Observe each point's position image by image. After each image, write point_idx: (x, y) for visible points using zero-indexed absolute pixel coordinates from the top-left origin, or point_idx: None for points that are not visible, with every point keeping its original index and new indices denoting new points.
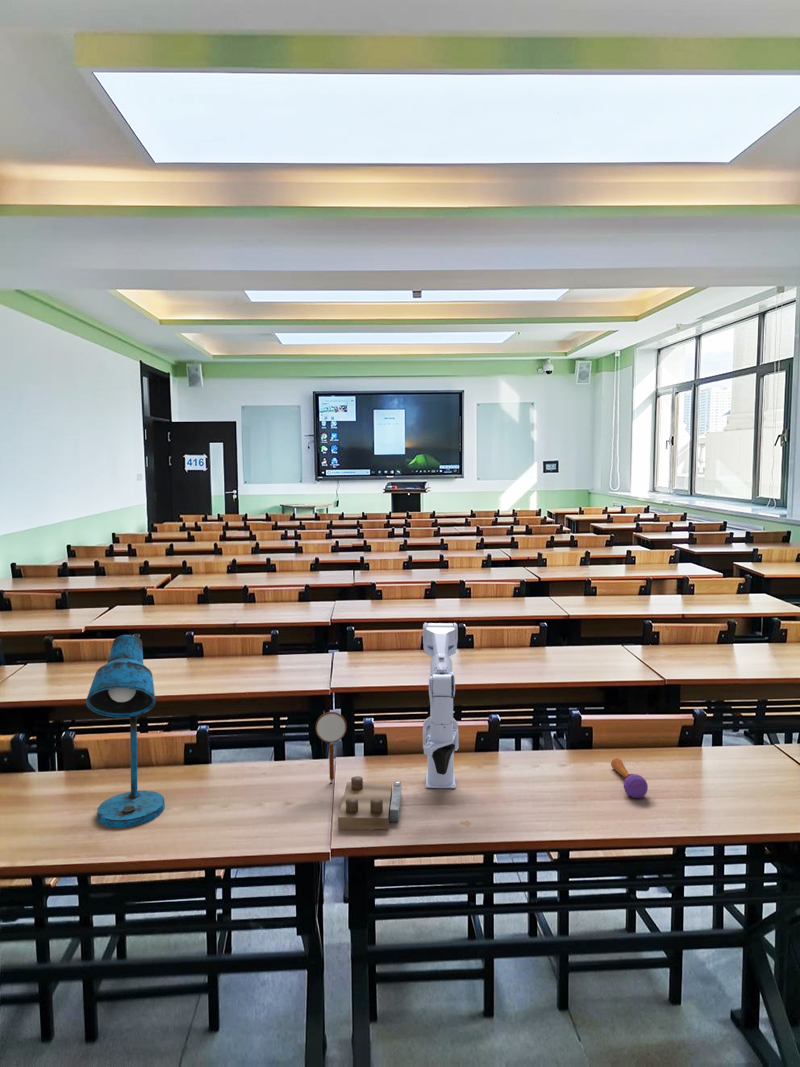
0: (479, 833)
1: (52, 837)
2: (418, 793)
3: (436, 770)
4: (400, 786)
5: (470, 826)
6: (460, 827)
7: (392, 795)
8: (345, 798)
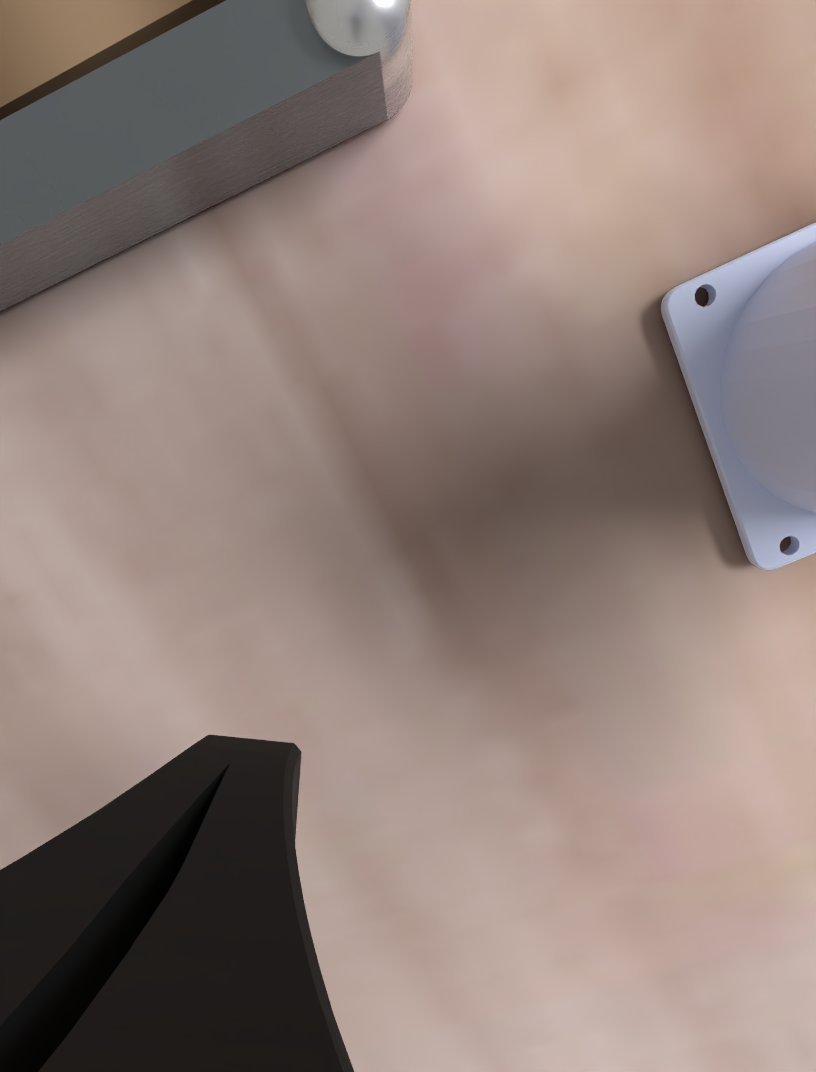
0: None
1: None
2: (523, 270)
3: (179, 756)
4: (313, 76)
5: None
6: None
7: (46, 103)
8: None
